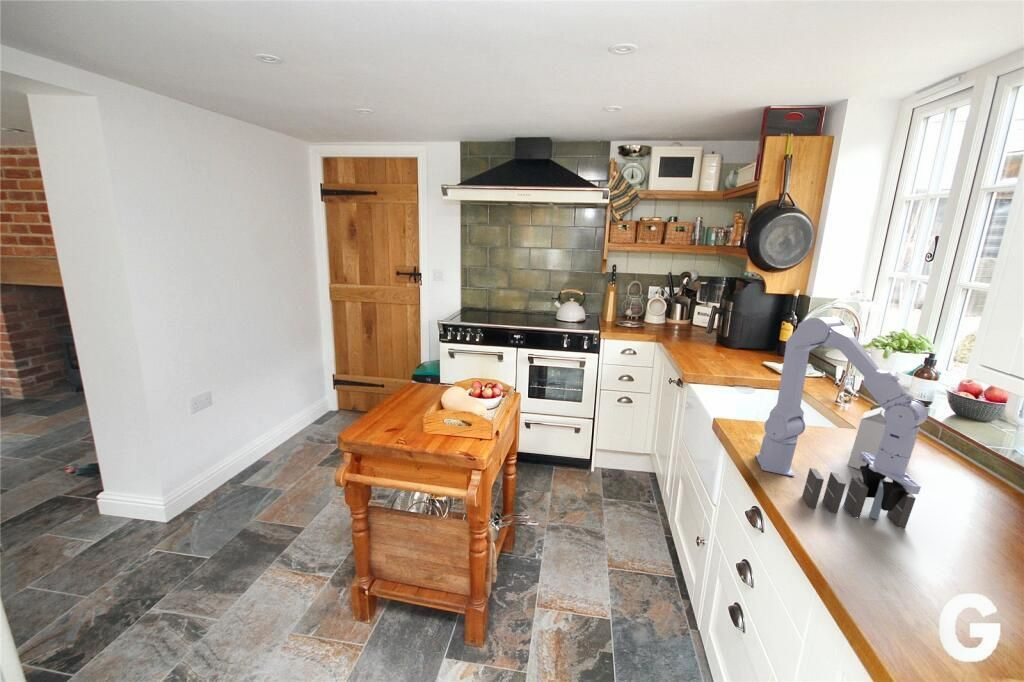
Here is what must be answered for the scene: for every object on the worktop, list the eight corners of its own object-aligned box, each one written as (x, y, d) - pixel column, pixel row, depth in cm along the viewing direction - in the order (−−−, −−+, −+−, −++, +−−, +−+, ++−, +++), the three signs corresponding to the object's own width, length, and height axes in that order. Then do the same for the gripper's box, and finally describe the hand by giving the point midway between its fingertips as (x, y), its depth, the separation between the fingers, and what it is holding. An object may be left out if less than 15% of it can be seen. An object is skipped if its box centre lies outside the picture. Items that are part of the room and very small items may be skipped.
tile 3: (851, 516, 104) (860, 487, 102) (843, 504, 109) (852, 476, 107) (859, 518, 104) (868, 488, 101) (850, 506, 108) (859, 477, 106)
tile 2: (829, 512, 105) (838, 482, 103) (822, 500, 110) (830, 471, 108) (837, 513, 105) (846, 484, 103) (829, 502, 109) (837, 473, 107)
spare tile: (869, 516, 103) (878, 486, 101) (871, 508, 107) (880, 478, 105) (877, 520, 102) (887, 489, 100) (879, 511, 106) (888, 481, 104)
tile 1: (808, 507, 106) (816, 478, 104) (802, 496, 111) (809, 467, 109) (815, 509, 106) (824, 479, 104) (809, 497, 111) (816, 469, 109)
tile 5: (897, 526, 101) (907, 496, 99) (886, 514, 106) (896, 484, 104) (905, 528, 101) (915, 498, 99) (894, 515, 106) (904, 486, 104)
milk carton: (847, 466, 128) (865, 405, 123) (850, 458, 133) (867, 399, 128) (878, 476, 124) (898, 414, 119) (880, 467, 129) (899, 407, 124)
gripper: (853, 435, 107) (838, 484, 111) (904, 466, 93) (886, 521, 97) (881, 437, 107) (866, 486, 111) (937, 468, 93) (917, 523, 97)
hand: (877, 503), depth 104 cm, fingers closed on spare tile, 4 cm apart
